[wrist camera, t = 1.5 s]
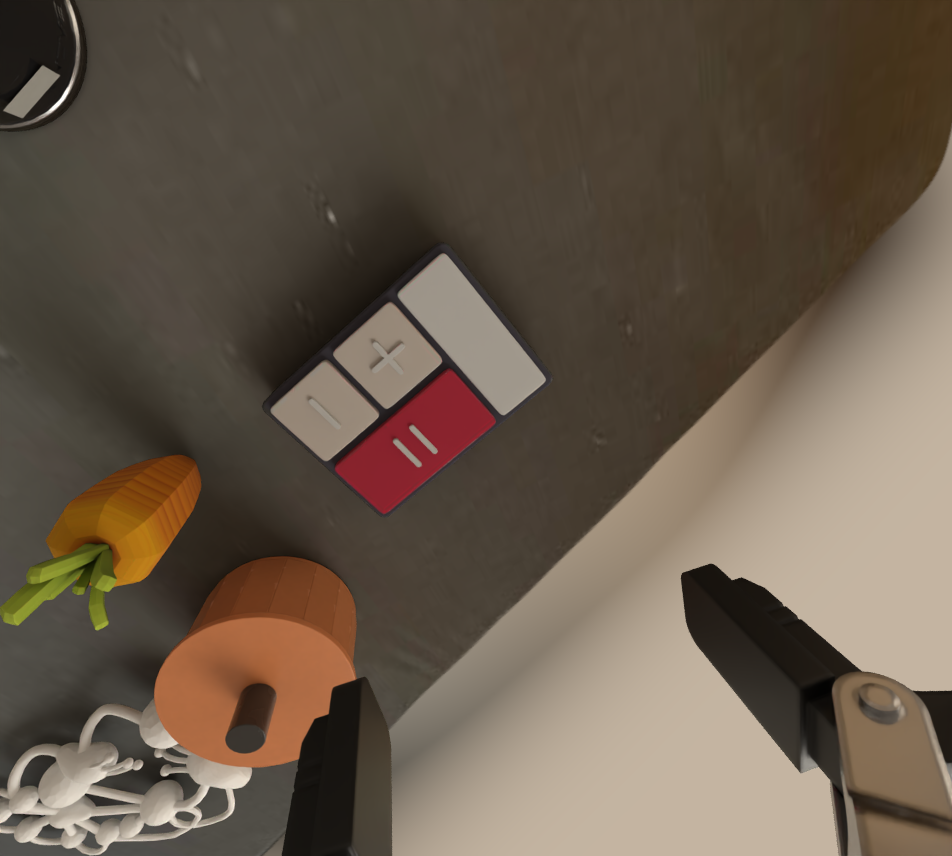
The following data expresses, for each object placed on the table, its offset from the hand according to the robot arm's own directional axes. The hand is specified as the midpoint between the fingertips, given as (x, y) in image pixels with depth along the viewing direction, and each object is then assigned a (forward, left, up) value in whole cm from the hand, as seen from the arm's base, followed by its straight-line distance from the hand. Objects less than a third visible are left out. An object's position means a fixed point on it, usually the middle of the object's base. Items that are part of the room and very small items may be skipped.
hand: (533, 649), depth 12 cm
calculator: (-2, 0, -24) cm, 24 cm away
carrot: (-14, -10, -24) cm, 30 cm away
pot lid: (-5, -20, -17) cm, 27 cm away
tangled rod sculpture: (-12, -37, -24) cm, 46 cm away
